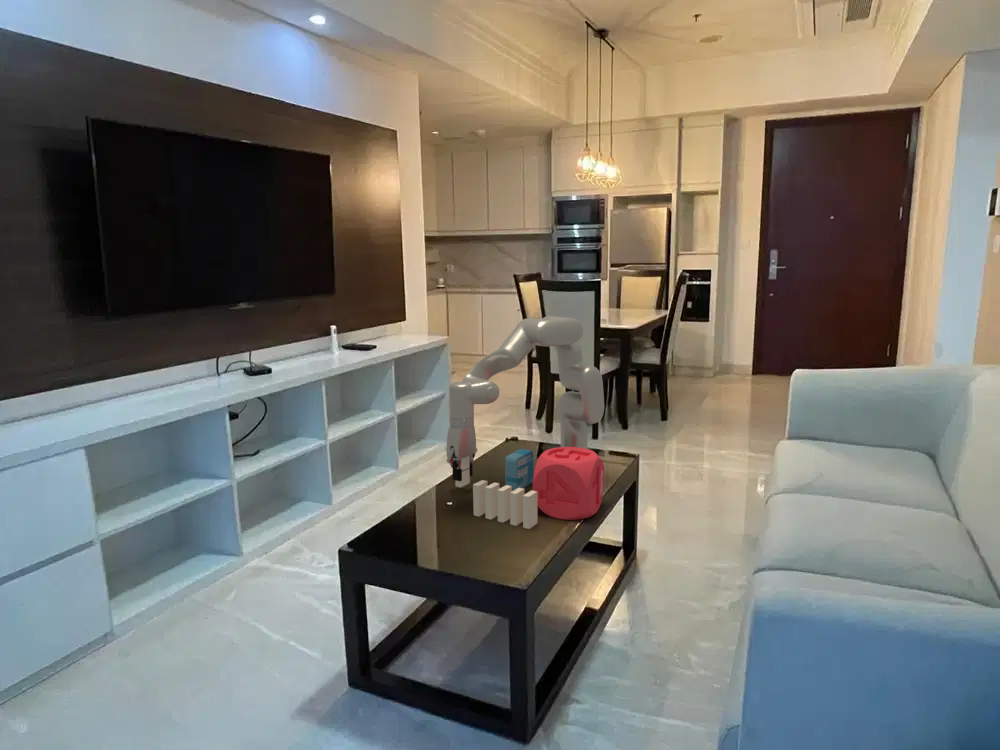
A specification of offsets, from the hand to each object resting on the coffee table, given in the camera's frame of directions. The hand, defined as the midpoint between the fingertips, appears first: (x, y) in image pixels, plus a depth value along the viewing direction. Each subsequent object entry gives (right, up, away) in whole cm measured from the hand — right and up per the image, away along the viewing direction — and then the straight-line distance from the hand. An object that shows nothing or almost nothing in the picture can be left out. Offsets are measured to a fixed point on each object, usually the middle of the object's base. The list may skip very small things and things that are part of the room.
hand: (462, 477), depth 209 cm
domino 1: (0, -2, 0) cm, 2 cm away
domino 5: (+17, -12, -9) cm, 23 cm away
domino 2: (+6, -11, -1) cm, 13 cm away
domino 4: (+13, -12, -6) cm, 19 cm away
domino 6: (+21, -13, -11) cm, 27 cm away
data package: (+19, -7, +22) cm, 30 cm away
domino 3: (+9, -11, -4) cm, 15 cm away
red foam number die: (+34, -11, +1) cm, 35 cm away
